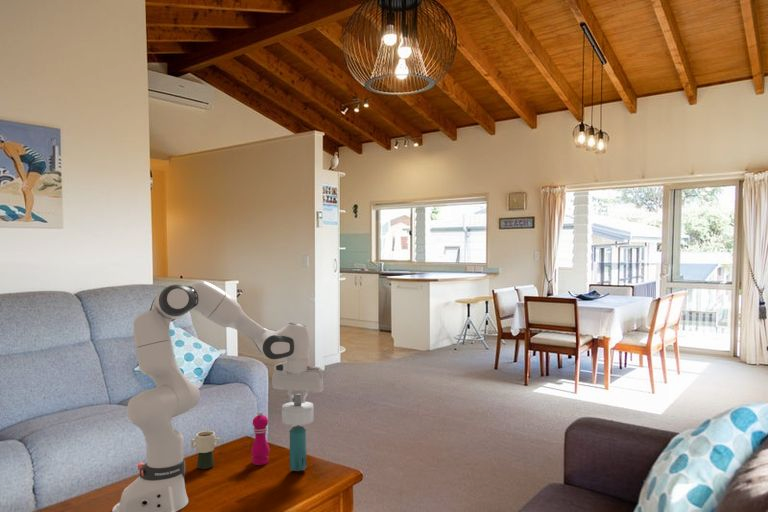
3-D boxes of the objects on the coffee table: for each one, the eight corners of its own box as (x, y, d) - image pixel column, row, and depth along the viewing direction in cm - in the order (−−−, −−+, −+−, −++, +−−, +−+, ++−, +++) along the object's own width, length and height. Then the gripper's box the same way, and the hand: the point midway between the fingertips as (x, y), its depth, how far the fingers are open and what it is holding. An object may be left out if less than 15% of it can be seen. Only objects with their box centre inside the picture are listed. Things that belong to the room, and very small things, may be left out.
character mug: (221, 462, 204) (221, 429, 204) (218, 470, 197) (218, 435, 197) (192, 464, 202) (192, 431, 202) (188, 472, 195) (188, 437, 195)
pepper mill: (250, 459, 207) (250, 409, 207) (268, 457, 209) (268, 408, 210) (251, 466, 200) (251, 414, 201) (270, 464, 203) (270, 413, 203)
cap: (282, 426, 189) (282, 399, 189) (281, 417, 200) (281, 391, 200) (314, 424, 192) (314, 397, 192) (311, 415, 203) (311, 390, 203)
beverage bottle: (303, 475, 192) (303, 421, 192) (286, 474, 193) (286, 420, 193) (309, 468, 198) (309, 416, 198) (292, 467, 200) (292, 415, 200)
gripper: (326, 365, 196) (326, 402, 196) (278, 362, 202) (278, 398, 202) (319, 368, 190) (319, 406, 190) (269, 365, 196) (269, 402, 196)
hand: (297, 402), depth 196 cm, fingers closed on cap, 3 cm apart
